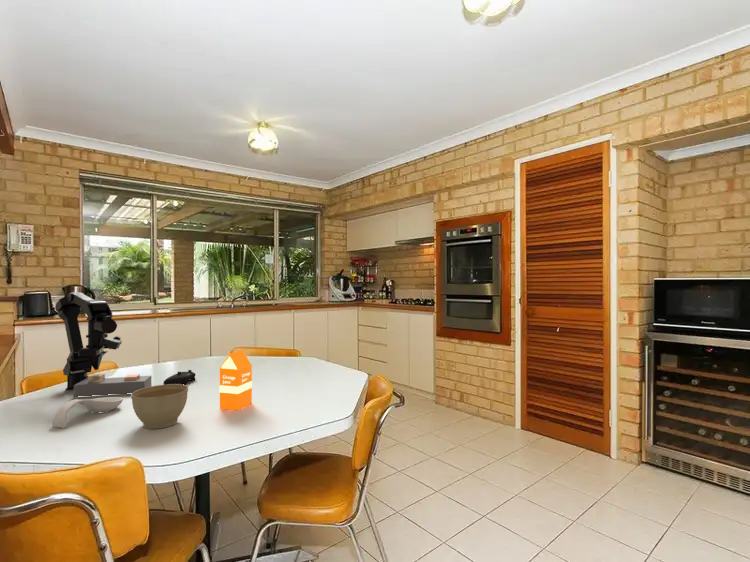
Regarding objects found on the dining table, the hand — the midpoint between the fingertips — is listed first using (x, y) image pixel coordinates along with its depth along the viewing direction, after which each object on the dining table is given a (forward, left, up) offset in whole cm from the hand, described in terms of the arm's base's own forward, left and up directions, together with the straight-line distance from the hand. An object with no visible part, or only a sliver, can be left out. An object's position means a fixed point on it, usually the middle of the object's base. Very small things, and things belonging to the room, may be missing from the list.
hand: (96, 369), depth 163 cm
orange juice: (+57, -33, -10) cm, 66 cm away
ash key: (0, 0, -6) cm, 6 cm away
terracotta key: (+13, 0, -7) cm, 15 cm away
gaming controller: (+30, +11, -10) cm, 33 cm away
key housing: (+7, 0, -10) cm, 12 cm away
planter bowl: (+35, -46, -10) cm, 58 cm away
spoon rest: (+9, -31, -10) cm, 34 cm away
